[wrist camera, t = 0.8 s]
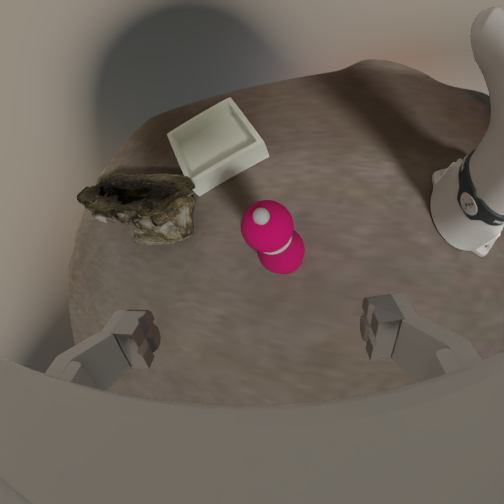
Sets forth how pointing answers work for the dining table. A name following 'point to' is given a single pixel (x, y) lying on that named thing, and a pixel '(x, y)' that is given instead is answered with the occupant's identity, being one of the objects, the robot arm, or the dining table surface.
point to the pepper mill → (273, 236)
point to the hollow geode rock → (144, 205)
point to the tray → (216, 145)
